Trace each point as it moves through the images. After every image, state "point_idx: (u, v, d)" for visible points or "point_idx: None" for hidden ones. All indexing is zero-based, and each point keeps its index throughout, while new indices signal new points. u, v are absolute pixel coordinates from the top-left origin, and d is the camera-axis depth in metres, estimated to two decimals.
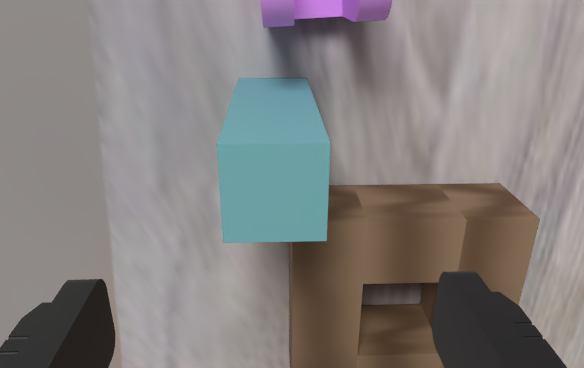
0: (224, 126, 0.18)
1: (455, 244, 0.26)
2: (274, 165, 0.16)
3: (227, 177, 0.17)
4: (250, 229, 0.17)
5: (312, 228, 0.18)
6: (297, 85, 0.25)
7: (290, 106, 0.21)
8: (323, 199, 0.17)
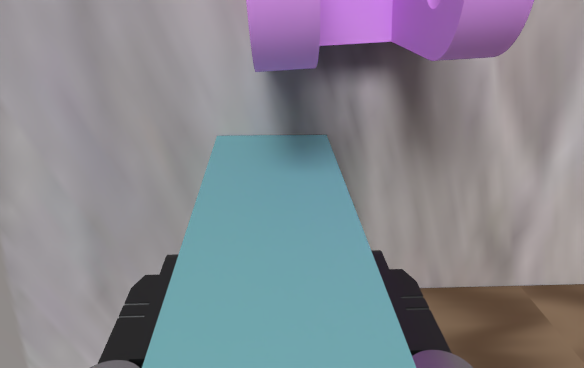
0: (162, 315, 0.08)
1: None
2: None
3: None
4: None
5: None
6: (314, 154, 0.15)
7: (308, 223, 0.11)
8: None
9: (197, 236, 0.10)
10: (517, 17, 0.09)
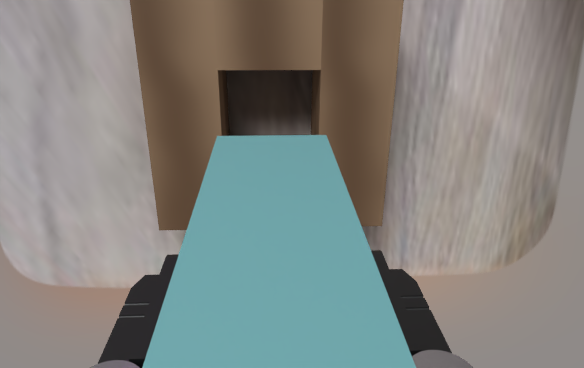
0: (162, 316, 0.08)
1: (314, 19, 0.24)
2: None
3: None
4: None
5: None
6: (313, 154, 0.15)
7: (308, 224, 0.11)
8: None
9: (197, 236, 0.10)
10: None
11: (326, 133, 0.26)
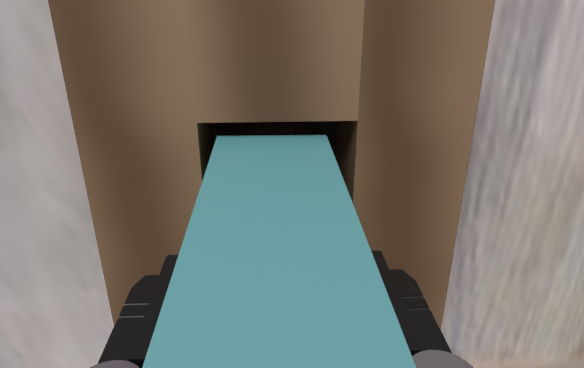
0: (162, 316, 0.08)
1: (349, 43, 0.15)
2: None
3: None
4: None
5: None
6: (313, 154, 0.15)
7: (308, 223, 0.11)
8: None
9: (197, 236, 0.10)
10: None
11: (363, 212, 0.18)
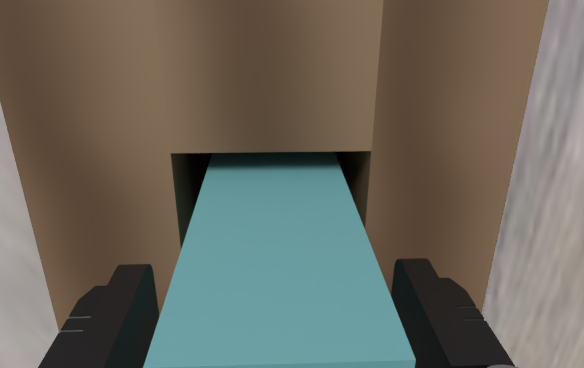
0: (175, 278, 0.09)
1: (363, 55, 0.12)
2: None
3: None
4: None
5: None
6: None
7: (306, 204, 0.12)
8: None
9: (204, 214, 0.11)
10: None
11: None
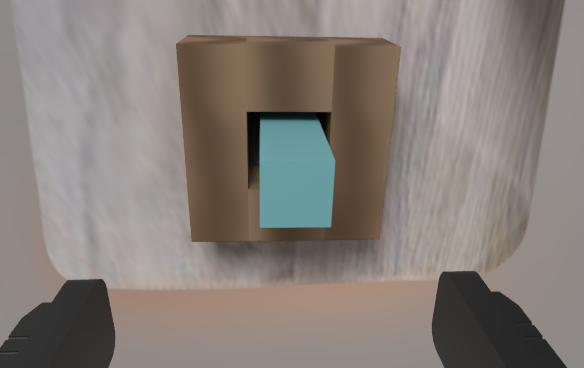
0: (260, 147, 0.26)
1: (327, 71, 0.29)
2: (297, 175, 0.24)
3: (265, 183, 0.24)
4: (279, 218, 0.25)
5: (321, 218, 0.26)
6: None
7: (304, 131, 0.29)
8: (329, 198, 0.25)
9: (264, 133, 0.28)
10: None
11: None
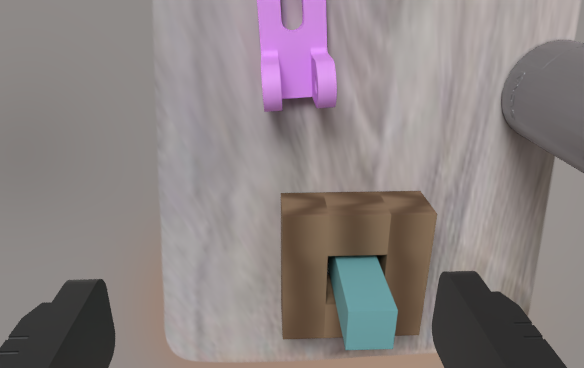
0: (345, 294, 0.39)
1: (385, 230, 0.42)
2: (372, 319, 0.37)
3: (351, 324, 0.37)
4: (358, 344, 0.38)
5: (386, 343, 0.38)
6: None
7: (369, 272, 0.42)
8: (392, 332, 0.38)
9: (343, 276, 0.41)
10: (333, 99, 0.35)
11: (388, 286, 0.44)
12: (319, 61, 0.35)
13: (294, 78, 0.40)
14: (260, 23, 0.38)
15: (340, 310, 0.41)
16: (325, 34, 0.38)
